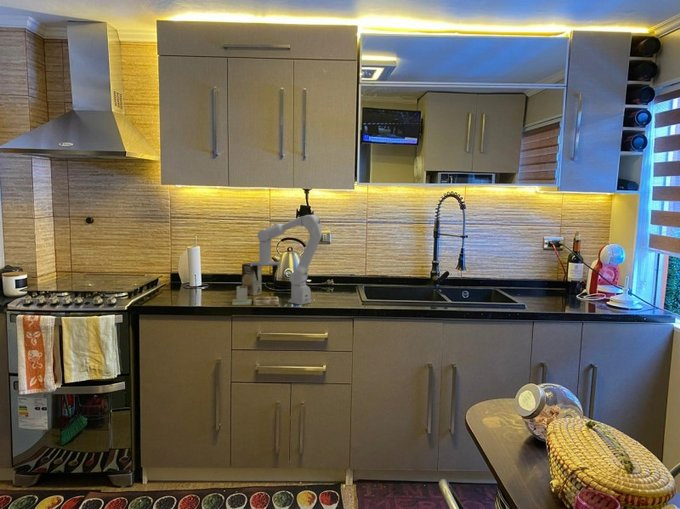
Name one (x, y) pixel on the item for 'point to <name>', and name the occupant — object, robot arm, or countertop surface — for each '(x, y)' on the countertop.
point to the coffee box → (251, 279)
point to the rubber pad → (242, 302)
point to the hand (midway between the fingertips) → (265, 280)
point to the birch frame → (266, 301)
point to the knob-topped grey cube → (241, 294)
